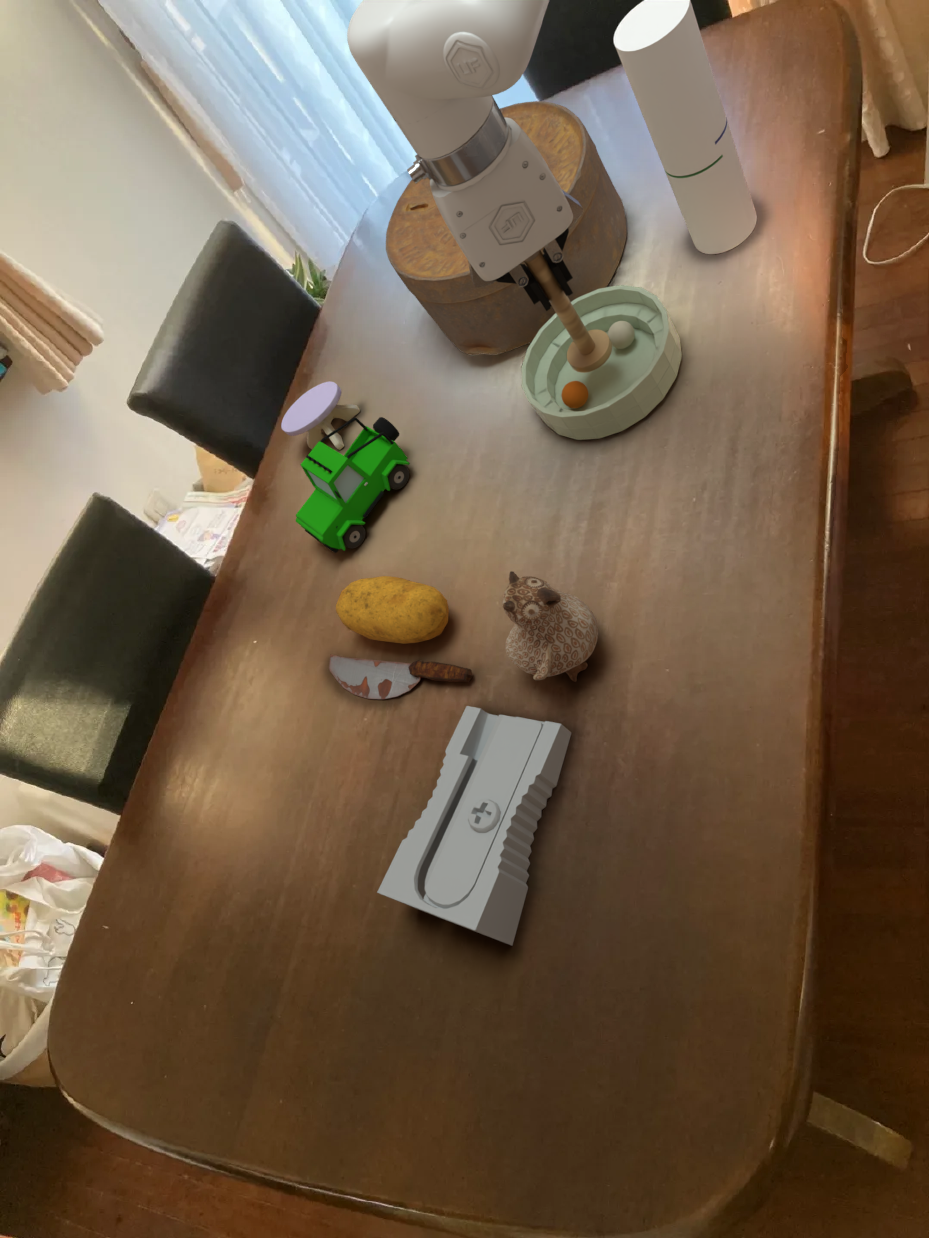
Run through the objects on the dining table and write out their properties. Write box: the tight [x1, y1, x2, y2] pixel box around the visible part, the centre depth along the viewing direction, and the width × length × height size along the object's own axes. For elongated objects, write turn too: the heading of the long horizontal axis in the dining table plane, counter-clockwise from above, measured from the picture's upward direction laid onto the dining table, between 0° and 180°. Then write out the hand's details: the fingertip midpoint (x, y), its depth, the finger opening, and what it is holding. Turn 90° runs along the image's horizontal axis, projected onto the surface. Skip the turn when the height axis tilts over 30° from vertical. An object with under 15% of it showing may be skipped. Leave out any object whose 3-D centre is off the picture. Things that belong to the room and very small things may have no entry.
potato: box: [335, 575, 450, 645], centre depth 92 cm, size 7×14×7 cm, turn 68°
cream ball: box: [608, 321, 635, 349], centre depth 93 cm, size 3×3×3 cm
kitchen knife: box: [328, 653, 474, 700], centre depth 92 cm, size 21×2×5 cm
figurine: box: [502, 570, 599, 683], centre depth 76 cm, size 9×10×15 cm
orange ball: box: [562, 381, 588, 408], centre depth 93 cm, size 3×3×3 cm
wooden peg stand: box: [524, 250, 612, 373], centre depth 85 cm, size 5×5×15 cm
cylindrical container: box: [613, 0, 758, 255], centre depth 84 cm, size 7×7×25 cm
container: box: [385, 100, 628, 356], centre depth 103 cm, size 28×28×15 cm
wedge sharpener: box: [376, 705, 572, 947], centre depth 76 cm, size 11×20×7 cm, turn 159°
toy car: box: [295, 416, 411, 554], centre depth 103 cm, size 8×17×10 cm, turn 136°
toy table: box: [280, 381, 361, 451], centre depth 114 cm, size 10×9×6 cm
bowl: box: [520, 284, 683, 441], centre depth 92 cm, size 17×17×5 cm
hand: (555, 293), depth 83 cm, fingers closed on wooden peg stand
